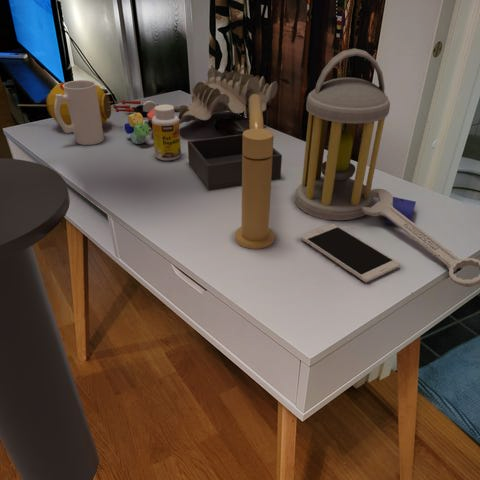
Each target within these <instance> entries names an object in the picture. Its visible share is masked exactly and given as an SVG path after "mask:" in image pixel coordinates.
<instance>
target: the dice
mask: <svg viewBox="0 0 480 480" xmlns="http://www.w3.org/2000/svg"><path fill="white" fill-rule="evenodd" d="M143 120H144V118H143V117H142V115H141V114H140V113H136V112H133V113H130V114H128V116H127V122H126V123H125V124H123V125H124V126H123V127H124V131H125V133H126V134H127V135H130V140H131V142H132V143H133V144H135V145H141V144H144V143H145V142H146V141H147V137H146V136H148V135H150V130H149V127H148V125H147V124H146V123H145V124H143Z"/></svg>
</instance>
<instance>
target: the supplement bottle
mask: <svg viewBox="0 0 480 480" xmlns="http://www.w3.org/2000/svg"><path fill="white" fill-rule="evenodd" d="M157 105H158V106H156V107H155V116H154V117H153V118H152V128H153V130H152V135H153V137H152V138H153V147H154V155H155V158H157V159H158V160H160V161H175V160H177V159H179V158H180V157H181V155H182V151H181V150H182V149H181V148H182V147H181V132H180V124H179V120H180V119H179V116H177V115H175V114H176V111H174V107H173V106H174V105H172V104H157Z"/></svg>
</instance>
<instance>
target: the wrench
mask: <svg viewBox="0 0 480 480" xmlns="http://www.w3.org/2000/svg"><path fill="white" fill-rule="evenodd" d="M367 195H369V196H372V197H373V198H376V199H378V202H376V203H374V204H373V206H372V207H371V208H369V207H361V209H362V211H363V212H364V213H365V215H368V216H370V217H371V216H372V217H378V216H382V217H383V216H386V217H387V218H388V219H389V220H391V221H392V222H393V223H394V224H396V225H395V226H396V227H398V228H399V229H400V230H402V231H403V232H404V233H406V234H407V235H408V236H409V237H410V238H412V240H414V241H415V242H417V243H418V244H420V245H421V246H422V247H423V248H424V249H425V250H426V251H428V252H429V253H431V255H433V256H434V257H436V259H438V260H440V262H442V263H443V264H444V265H446V267H447V269H448V277H449V279H450V280H451V281H452V282H453V283H455V284H456V285H459V286H461V287H466V288H471V287H475V286H478V285H479V284H480V273H478V276H476V277H473V278H471V279H469V278H467V279H463V278H461V277H457V275H456V274H455V272H456V271H457V270H458V269H460V268H463V266H467V267H468V266H473V267H474V268H478V270H479V271H480V259H477V258H473V257H467V258H466V257H465V258H460V257H458V256H457V255H456V254H454V252H452V251H451V250H449V249H448V248H447V247H445V246H444V245H443V244H442V243H440V242H439V241H438V240H436V239H435V238H433V237H432V235H430V234H429V233H427V232H426V231H425V230H423V229H422V228H421V227H420V226H418V225H417V224H416V223H414V222H413V221H412V220H411V221H410V220H409V219H408V218H406V217H405V216H404V215H402V214H401V213H400V212H399V211H397V210H396V209H395V208H393V197H394V196H393V195H392V193H391V192H390V191H389V190H386V189H384V188H373V189H371V190H370V191H368V192H367ZM386 217H385V218H386Z"/></svg>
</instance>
